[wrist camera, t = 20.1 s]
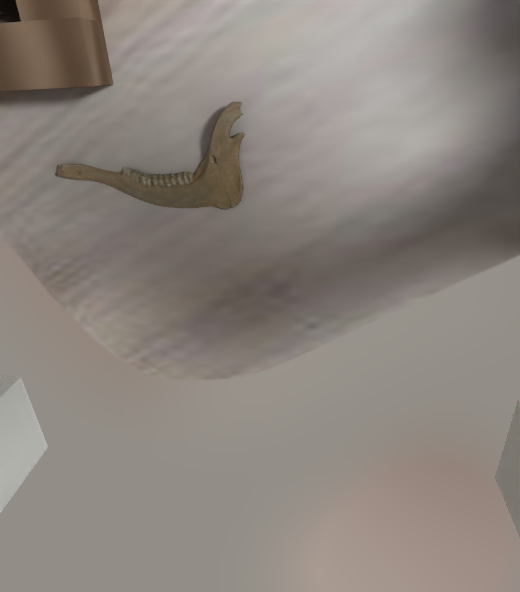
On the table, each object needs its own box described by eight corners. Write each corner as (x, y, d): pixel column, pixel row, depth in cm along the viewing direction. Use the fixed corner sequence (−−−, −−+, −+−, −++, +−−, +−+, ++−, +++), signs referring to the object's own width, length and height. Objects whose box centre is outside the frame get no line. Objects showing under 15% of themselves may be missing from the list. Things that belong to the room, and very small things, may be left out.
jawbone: (273, 191, 43) (271, 199, 41) (100, 243, 48) (92, 251, 46) (242, 97, 38) (238, 100, 37) (56, 165, 44) (45, 171, 42)
